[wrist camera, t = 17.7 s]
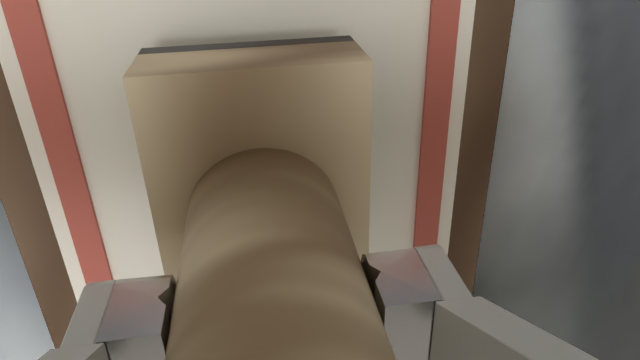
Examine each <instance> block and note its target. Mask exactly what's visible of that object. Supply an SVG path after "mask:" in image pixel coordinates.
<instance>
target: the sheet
mask: <svg viewBox="0 0 640 360" xmlns="http://www.w3.org/2000/svg"><path fill="white" fill-rule="evenodd" d="M475 5H476V0H0V63H1V66H2V69H3V72H4V76H5V79H6V82H7V85H8V88H9V91H10V94H11V97H12V101H13V104H14V107H15V110H16V113H17V116H18V119H19V122H20V126H21V129H22V132H23V135H24V138H25V141H26V144H27V147H28V151H29V154H30V157H31V160H32V163H33V166H34V169H35V173H36V176H37V179H38V182H39V185H40V188H41V191H42V194H43V198H44V201H45V204H46V207H47V210H48V213H49V216H50V219H51V223H52V226H53V229H54V232H55V235H56V238H57V241H58V244H59V248H60V251H61V254H62V257H63V260H64V263H65V266H66V269H67V273H68V276H69V279H70V282H71V285H72V288H73V291H74V294H75V298H76V301H77V303H78V300H79V298H80V295H81V293H82V290H83V288H84V287H85V286H86V285H87V284H88V283H89V282H99V281H108V280H118V279H128V278H139V277H150V276H162V275H164V271H163V266H162V261H161V257H160V252H159V247H158V243H157V238H156V233H155V228H154V224H153V219H152V214H151V210H150V205H149V200H148V196H147V191H146V186H145V181H144V177H143V172H142V167H141V163H140V158H139V153H138V149H137V144H136V139H135V134H134V130H133V125H132V120H131V116H130V111H129V106H128V102H127V97H126V92H125V87H124V83H123V76H124V74H125V73H126V71H127V70H128V68H129V67H130V65H131V64H132V62H133V61H134V59H135V57H136V56H137V54H138V53H139V51H140V50H141V48H154V47H170V46H186V45H202V44H218V43H234V42H250V41H267V40H283V39H299V38H315V37H331V36H347V35H350V36H351V37H352V38H353V39H354V41H355V42H356V43H357V44H358V45H359V46H360V47H361V48H362V49H363V50H364V52H365V53H366V54H367V55H368V56H369V57H370V58H371V59H372V60H373V73H372V122H371V171H370V221H369V253H376V252H385V251H393V250H402V249H411V248H413V247H419V246H426V245H433V244H438V245H440V246H441V247H442V248H443V250H444V252H445V253H446V255H447V256H448V248H449V239H450V230H451V221H452V212H453V203H454V194H455V185H456V176H457V167H458V158H459V149H460V140H461V131H462V122H463V113H464V104H465V95H466V86H467V77H468V68H469V59H470V50H471V41H472V32H473V23H474V14H475Z"/></svg>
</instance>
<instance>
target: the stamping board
mask: <svg viewBox="0 0 640 360" xmlns="http://www.w3.org/2000/svg"><path fill="white" fill-rule="evenodd" d="M514 4H515V0H476V5H475V14H474V23H473V32H472V41H471V50H470V59H469V68H468V77H467V86H466V95H465V104H464V113H463V122H462V131H461V140H460V149H459V158H458V167H457V176H456V185H455V194H454V203H453V212H452V221H451V230H450V239H449V248H448V258H449V260H450V261H451V263H452V264H453V266H454V268H455V269H456V271H457V272H458V274H459V276H460V277H461V279H462V280H463V282H464V284H465V285H466V287H467V288H468V290H469V292H470V293H471V295H472V294H473V287H474V280H475V273H476V266H477V259H478V252H479V245H480V239H481V232H482V225H483V218H484V211H485V204H486V197H487V190H488V183H489V177H490V170H491V163H492V156H493V149H494V142H495V135H496V128H497V121H498V115H499V108H500V101H501V94H502V87H503V80H504V73H505V66H506V60H507V53H508V46H509V39H510V32H511V25H512V18H513V11H514ZM0 198H1V201H2V204H3V206H4V209H5V212H6V215H7V217H8V220H9V223H10V226H11V228H12V231H13V234H14V237H15V239H16V242H17V245H18V247H19V250H20V253H21V256H22V258H23V261H24V264H25V267H26V269H27V272H28V275H29V278H30V280H31V283H32V286H33V289H34V291H35V294H36V297H37V300H38V302H39V305H40V308H41V310H42V313H43V316H44V319H45V321H46V324H47V327H48V330H49V332H50V335H51V338H52V341H53V343H54V346H55V349H57V348H60V346H61V343H62V341H63V338H64V336H65V333H66V331H67V328H68V326H69V323H70V321H71V318H72V316H73V313H74V311H75V308H76V305H77V301H76V298H75V294H74V291H73V288H72V285H71V282H70V279H69V276H68V273H67V269H66V266H65V263H64V260H63V257H62V254H61V251H60V248H59V244H58V241H57V238H56V235H55V232H54V229H53V226H52V223H51V219H50V216H49V213H48V210H47V207H46V204H45V201H44V198H43V194H42V191H41V188H40V185H39V182H38V179H37V176H36V173H35V169H34V166H33V163H32V160H31V157H30V154H29V151H28V147H27V144H26V141H25V138H24V135H23V132H22V129H21V126H20V122H19V119H18V116H17V113H16V110H15V107H14V104H13V101H12V97H11V94H10V91H9V88H8V85H7V82H6V79H5V76H4V72H3V69H2V66H1V63H0Z"/></svg>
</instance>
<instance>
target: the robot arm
mask: <svg viewBox="0 0 640 360" xmlns="http://www.w3.org/2000/svg"><path fill="white" fill-rule="evenodd" d="M361 264H362V266H363V269H364V272H365V275H366V277H367V280H368V283H369V286H370V289H371V291H372V294H373V297H374V300H375V302H376V305H377V308H378V311H379V314H380V316H381V319H382V322H383V325H384V327H385V330H386V333H387V336H388V339H389V341H390V344H391V347H392V350H393V353H394V355H395V358H396V360H599V359H597V358H595V357H593V356H591V355H589V354H587V353H586V352H584V351H582V350H580V349H578V348H576V347H574V346H572V345H571V344H569V343H567V342H565V341H563V340H561V339H559V338H558V337H556V336H554V335H552V334H550V333H548V332H546V331H544V330H543V329H541V328H539V327H537V326H535V325H533V324H531V323H529V322H528V321H526V320H524V319H522V318H520V317H518V316H516V315H515V314H513V313H511V312H509V311H507V310H505V309H503V308H501V307H500V306H498V305H496V304H494V303H492V302H490V301H488V300H486V299H485V298H483V297H481V296H478V297H473V296H472V295H471V293H470V292H469V290H468V288H467V287H466V285H465V284H464V282H463V280H462V279H461V277H460V276H459V274H458V272H457V271H456V269H455V268H454V266H453V264H452V263H451V261H450V260H449V258H448V256H447V255H446V253H445V252H444V250H443V248H442V247H441V246H440V245H438V244H433V245H426V246H419V247H413V248H411V249H402V250H393V251H385V252H376V253H367V254H362V257H361ZM175 289H176V279H175V277H174V276H173V275H162V276H150V277H139V278H128V279H118V280H108V281H99V282H89V283H88V284H87V285H86V286H85V287H84V288H83V290H82V293H81V295H80V298H79V300H78V303H77V305H76V308H75V311H74V313H73V316H72V318H71V321H70V323H69V326H68V328H67V331H66V333H65V336H64V338H63V341H62V343H61V346H60V348H57V349H50V350H49V351H48V352H47V353H46V354H44V355H43V356H42V357H41V358H39V359H38V360H165V356H166V349H167V342H168V336H169V329H170V322H171V316H172V309H173V302H174V296H175Z"/></svg>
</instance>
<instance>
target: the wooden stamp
mask: <svg viewBox="0 0 640 360" xmlns="http://www.w3.org/2000/svg"><path fill="white" fill-rule="evenodd" d="M372 73H373V60H372V59H371V58H370V57H369V56H368V55H367V54H366V53H365V52H364V50H363V49H362V48H361V47H360V46H359V45H358V44H357V43H356V42H355V41H354V39H353V38H352V37H351V36H350V35H347V36H331V37H315V38H299V39H283V40H267V41H250V42H234V43H218V44H202V45H186V46H170V47H154V48H141V50H140V51H139V53H138V54H137V56H136V57H135V59H134V61H133V62H132V64H131V65H130V67H129V68H128V70H127V71H126V73H125V74H124V76H123V83H124V87H125V92H126V97H127V102H128V106H129V111H130V116H131V120H132V125H133V130H134V134H135V139H136V144H137V149H138V153H139V158H140V163H141V167H142V172H143V177H144V181H145V186H146V191H147V196H148V200H149V205H150V210H151V214H152V219H153V224H154V228H155V233H156V238H157V243H158V247H159V252H160V257H161V261H162V266H163V271H164V275H173V276H174V277H175V279H176V289H175V296H174V302H173V309H172V316H171V322H170V329H169V336H168V342H167V349H166V356H165V360H396V358H395V355H394V353H393V350H392V347H391V344H390V341H389V339H388V336H387V333H386V330H385V327H384V325H383V322H382V319H381V316H380V314H379V311H378V308H377V305H376V302H375V300H374V297H373V294H372V291H371V289H370V286H369V283H368V280H367V277H366V275H365V272H364V269H363V266H362V264H361V257H362V254H367V253H369V221H370V171H371V122H372Z"/></svg>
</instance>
